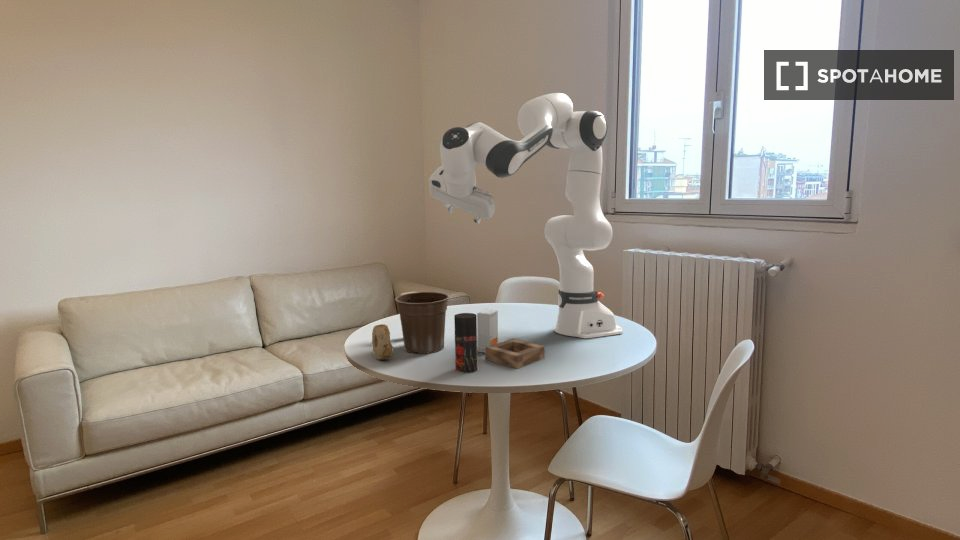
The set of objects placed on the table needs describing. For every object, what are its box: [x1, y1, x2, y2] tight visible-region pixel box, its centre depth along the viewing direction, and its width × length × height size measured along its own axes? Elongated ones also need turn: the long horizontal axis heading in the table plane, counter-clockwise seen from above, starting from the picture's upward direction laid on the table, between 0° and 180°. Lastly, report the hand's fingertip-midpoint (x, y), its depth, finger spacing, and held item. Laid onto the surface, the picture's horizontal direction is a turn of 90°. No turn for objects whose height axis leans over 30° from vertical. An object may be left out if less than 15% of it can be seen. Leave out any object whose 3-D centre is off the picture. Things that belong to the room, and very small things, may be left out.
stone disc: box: [371, 323, 394, 361], centre depth 156 cm, size 10×4×10 cm, turn 29°
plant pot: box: [394, 291, 450, 355], centre depth 166 cm, size 16×16×16 cm
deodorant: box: [454, 312, 478, 374], centre depth 146 cm, size 6×6×15 cm
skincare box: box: [476, 308, 499, 353], centre depth 163 cm, size 6×4×12 cm
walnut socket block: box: [484, 338, 546, 369], centre depth 155 cm, size 12×12×4 cm
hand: (463, 216), depth 160 cm, fingers open, 8 cm apart
